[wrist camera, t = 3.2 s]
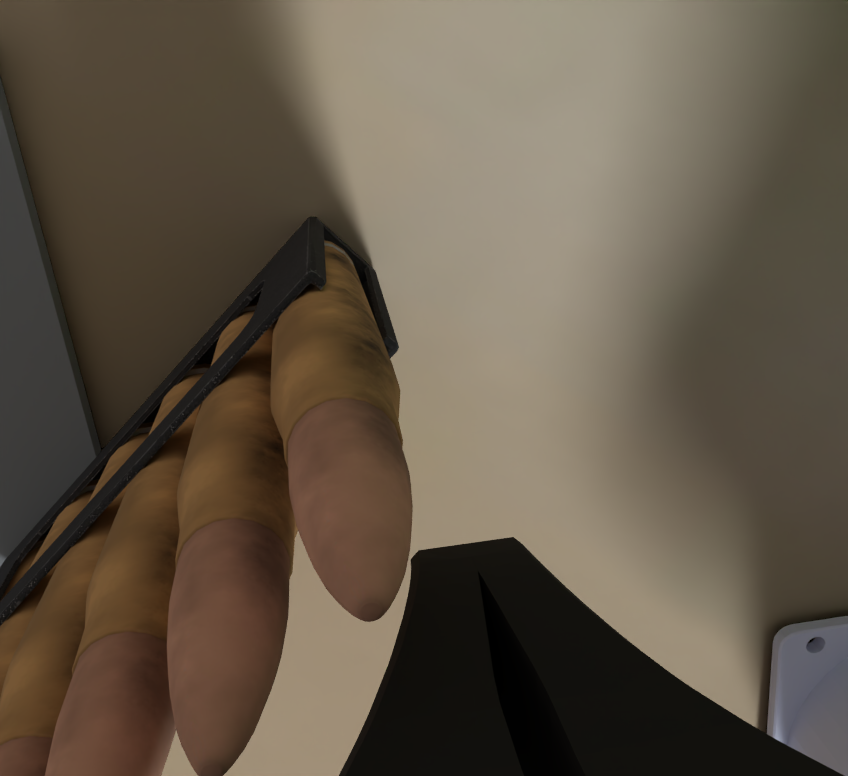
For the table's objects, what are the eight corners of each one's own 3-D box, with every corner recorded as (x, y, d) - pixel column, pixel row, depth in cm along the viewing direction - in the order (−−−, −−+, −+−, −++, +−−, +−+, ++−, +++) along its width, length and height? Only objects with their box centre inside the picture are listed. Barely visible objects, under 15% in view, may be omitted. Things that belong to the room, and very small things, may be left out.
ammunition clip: (69, 609, 18) (-262, 1375, 7) (-1, 566, 18) (-484, 1334, 7) (377, 272, 17) (549, 590, 6) (312, 213, 16) (364, 442, 5)
